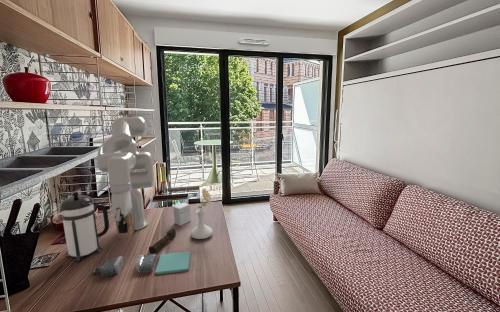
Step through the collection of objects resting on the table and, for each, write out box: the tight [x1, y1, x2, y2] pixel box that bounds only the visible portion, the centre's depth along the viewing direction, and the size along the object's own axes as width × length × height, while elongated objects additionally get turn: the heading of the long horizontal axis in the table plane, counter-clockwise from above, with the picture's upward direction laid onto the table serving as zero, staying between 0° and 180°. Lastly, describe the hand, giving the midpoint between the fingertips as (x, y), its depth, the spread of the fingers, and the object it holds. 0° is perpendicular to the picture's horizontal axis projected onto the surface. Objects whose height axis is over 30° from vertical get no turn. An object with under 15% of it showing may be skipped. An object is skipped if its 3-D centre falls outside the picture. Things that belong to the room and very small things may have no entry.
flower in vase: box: [190, 188, 213, 240], centre depth 132 cm, size 13×11×25 cm
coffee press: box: [57, 191, 110, 263], centre depth 117 cm, size 17×16×30 cm
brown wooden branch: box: [148, 228, 177, 255], centre depth 125 cm, size 19×4×5 cm, turn 160°
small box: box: [172, 202, 192, 226], centre depth 149 cm, size 8×6×10 cm
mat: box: [154, 251, 191, 275], centre depth 110 cm, size 13×13×1 cm
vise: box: [92, 253, 158, 277], centre depth 107 cm, size 8×23×4 cm, turn 99°
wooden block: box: [114, 211, 135, 239], centre depth 104 cm, size 5×5×9 cm
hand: (125, 228), depth 104 cm, fingers closed on wooden block, 5 cm apart
